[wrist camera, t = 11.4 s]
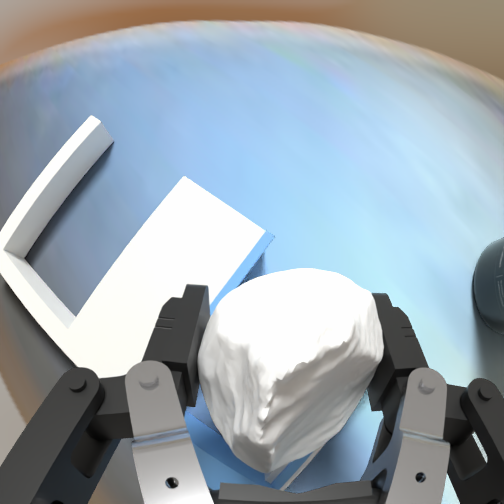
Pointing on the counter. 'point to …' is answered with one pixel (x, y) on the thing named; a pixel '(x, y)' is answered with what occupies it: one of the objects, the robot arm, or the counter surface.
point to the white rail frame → (140, 284)
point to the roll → (288, 363)
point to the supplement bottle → (491, 285)
